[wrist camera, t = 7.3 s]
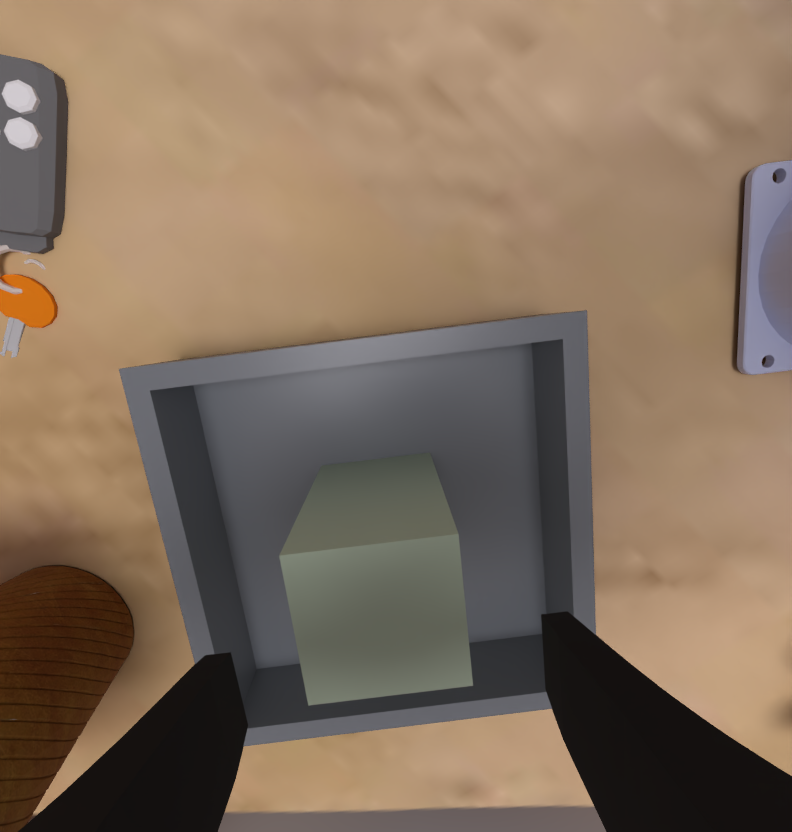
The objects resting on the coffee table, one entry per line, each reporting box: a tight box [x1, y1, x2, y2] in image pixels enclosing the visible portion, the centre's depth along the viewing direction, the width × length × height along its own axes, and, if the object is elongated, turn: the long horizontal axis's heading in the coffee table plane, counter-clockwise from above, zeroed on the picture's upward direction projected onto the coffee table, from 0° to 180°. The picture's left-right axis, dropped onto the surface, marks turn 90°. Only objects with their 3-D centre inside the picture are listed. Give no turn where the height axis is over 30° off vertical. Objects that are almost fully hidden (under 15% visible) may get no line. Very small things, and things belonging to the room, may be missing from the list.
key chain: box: [0, 55, 68, 358], centre depth 16 cm, size 13×4×2 cm, turn 173°
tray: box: [119, 310, 596, 746], centre depth 17 cm, size 15×15×4 cm
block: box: [279, 453, 473, 706], centre depth 14 cm, size 4×4×7 cm
